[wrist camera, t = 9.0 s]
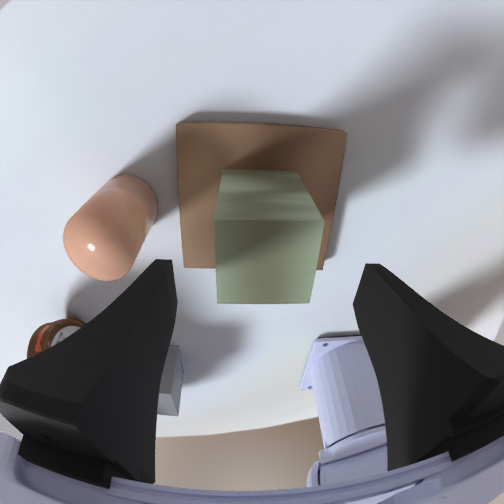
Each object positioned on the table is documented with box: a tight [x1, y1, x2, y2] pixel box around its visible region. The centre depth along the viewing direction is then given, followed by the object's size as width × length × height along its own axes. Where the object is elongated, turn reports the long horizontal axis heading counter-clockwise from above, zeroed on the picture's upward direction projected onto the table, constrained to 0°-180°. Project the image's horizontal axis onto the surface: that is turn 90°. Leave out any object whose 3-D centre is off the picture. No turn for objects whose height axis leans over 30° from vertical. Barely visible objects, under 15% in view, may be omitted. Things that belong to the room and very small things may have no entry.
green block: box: [214, 169, 324, 304], centre depth 14 cm, size 4×4×6 cm
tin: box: [27, 319, 85, 359], centre depth 22 cm, size 15×3×8 cm, turn 21°
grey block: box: [157, 345, 184, 416], centre depth 23 cm, size 4×4×5 cm
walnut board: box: [176, 122, 347, 270], centre depth 17 cm, size 9×9×1 cm
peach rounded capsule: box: [63, 175, 158, 281], centre depth 15 cm, size 4×4×5 cm
